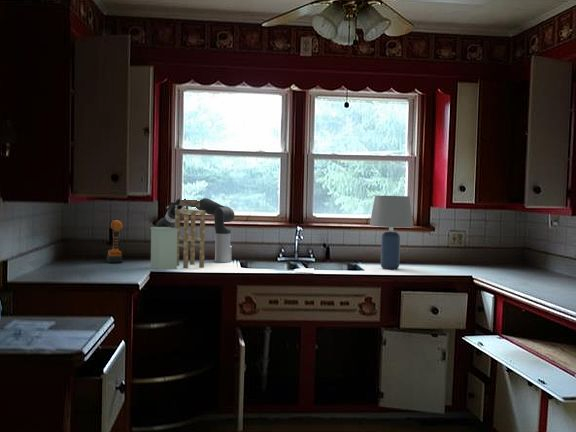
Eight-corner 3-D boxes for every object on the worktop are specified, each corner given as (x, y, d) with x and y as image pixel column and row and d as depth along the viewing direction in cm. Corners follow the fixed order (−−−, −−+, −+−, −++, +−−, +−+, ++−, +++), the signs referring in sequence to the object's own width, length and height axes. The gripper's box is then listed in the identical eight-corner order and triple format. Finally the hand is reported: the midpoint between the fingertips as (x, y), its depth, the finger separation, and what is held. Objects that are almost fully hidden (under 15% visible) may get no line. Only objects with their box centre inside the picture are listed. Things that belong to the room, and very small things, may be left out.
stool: (193, 264, 340) (194, 209, 338) (204, 267, 326) (205, 210, 325) (173, 265, 333) (174, 209, 332) (184, 268, 320) (185, 210, 318)
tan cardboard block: (181, 205, 345) (181, 199, 345) (199, 207, 321) (200, 200, 321) (175, 205, 343) (175, 199, 343) (193, 206, 319) (194, 200, 319)
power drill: (104, 259, 351) (105, 218, 349) (117, 259, 354) (118, 218, 352) (109, 264, 331) (110, 220, 330) (123, 263, 334) (123, 220, 333)
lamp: (416, 272, 330) (419, 196, 328) (372, 271, 328) (375, 195, 326) (405, 266, 355) (407, 196, 353) (364, 265, 354) (366, 195, 352)
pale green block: (168, 265, 331) (168, 226, 330) (177, 268, 319) (178, 228, 318) (150, 266, 325) (150, 227, 324) (158, 269, 313) (159, 229, 312)
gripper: (185, 219, 353) (195, 205, 340) (163, 219, 346) (172, 205, 333) (183, 208, 356) (192, 194, 343) (161, 208, 349) (169, 194, 336)
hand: (182, 200), depth 338 cm, fingers closed on tan cardboard block, 3 cm apart
